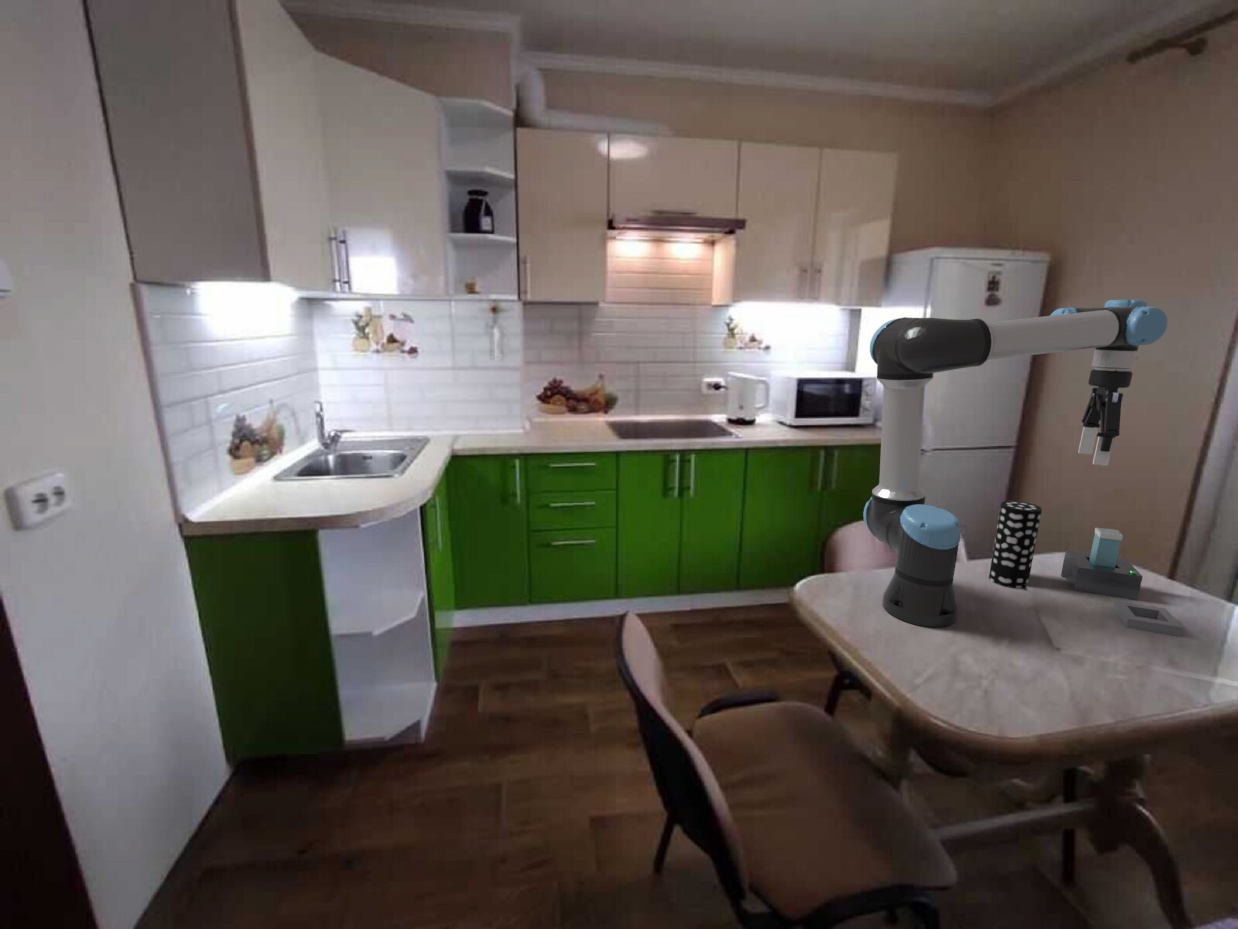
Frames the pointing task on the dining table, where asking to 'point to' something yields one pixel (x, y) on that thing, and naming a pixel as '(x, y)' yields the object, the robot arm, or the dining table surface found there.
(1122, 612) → the square frame socket
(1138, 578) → the port
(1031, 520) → the spotted tube
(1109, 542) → the plug
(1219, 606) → the dining table surface
